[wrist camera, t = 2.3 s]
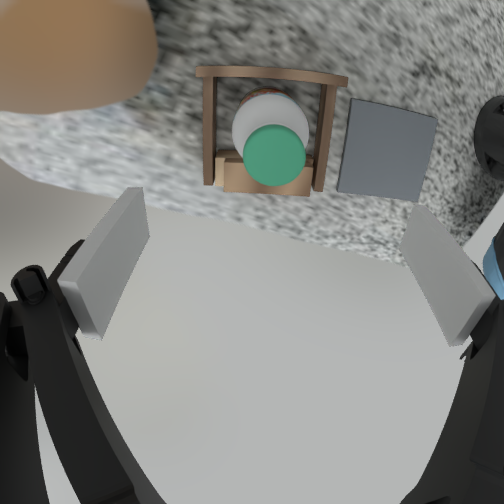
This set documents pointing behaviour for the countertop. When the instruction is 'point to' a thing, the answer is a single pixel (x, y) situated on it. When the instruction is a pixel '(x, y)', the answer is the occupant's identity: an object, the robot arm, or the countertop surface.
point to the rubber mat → (385, 151)
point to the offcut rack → (229, 161)
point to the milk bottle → (271, 136)
